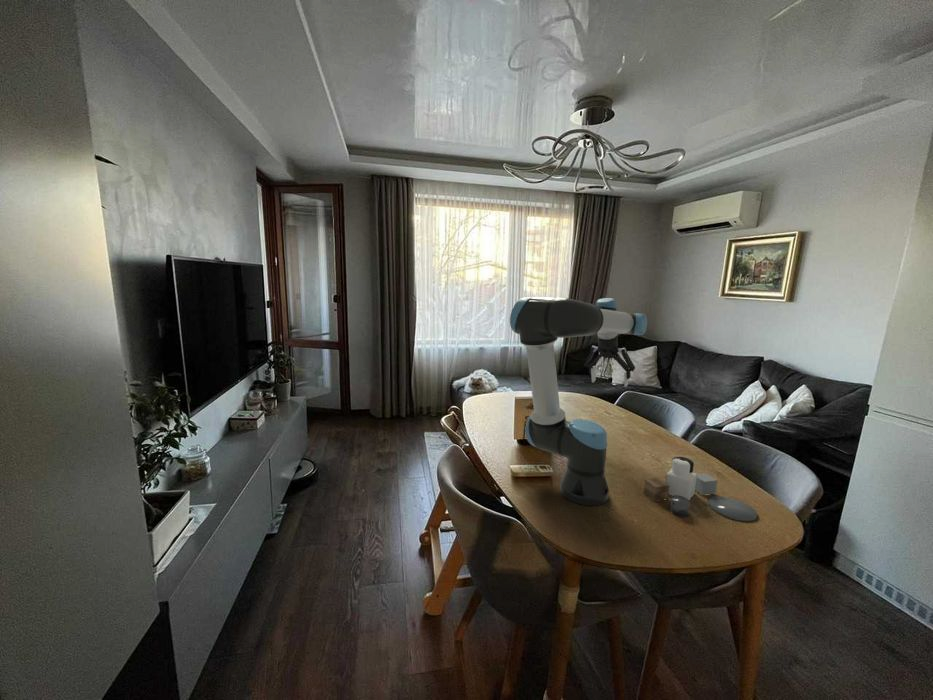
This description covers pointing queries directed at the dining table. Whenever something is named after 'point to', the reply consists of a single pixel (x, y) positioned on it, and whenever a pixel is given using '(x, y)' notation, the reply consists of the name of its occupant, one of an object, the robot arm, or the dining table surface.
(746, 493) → the dining table surface
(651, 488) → the walnut block
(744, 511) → the slate coaster
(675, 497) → the metal tin
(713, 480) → the grey block
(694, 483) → the medicine bottle
